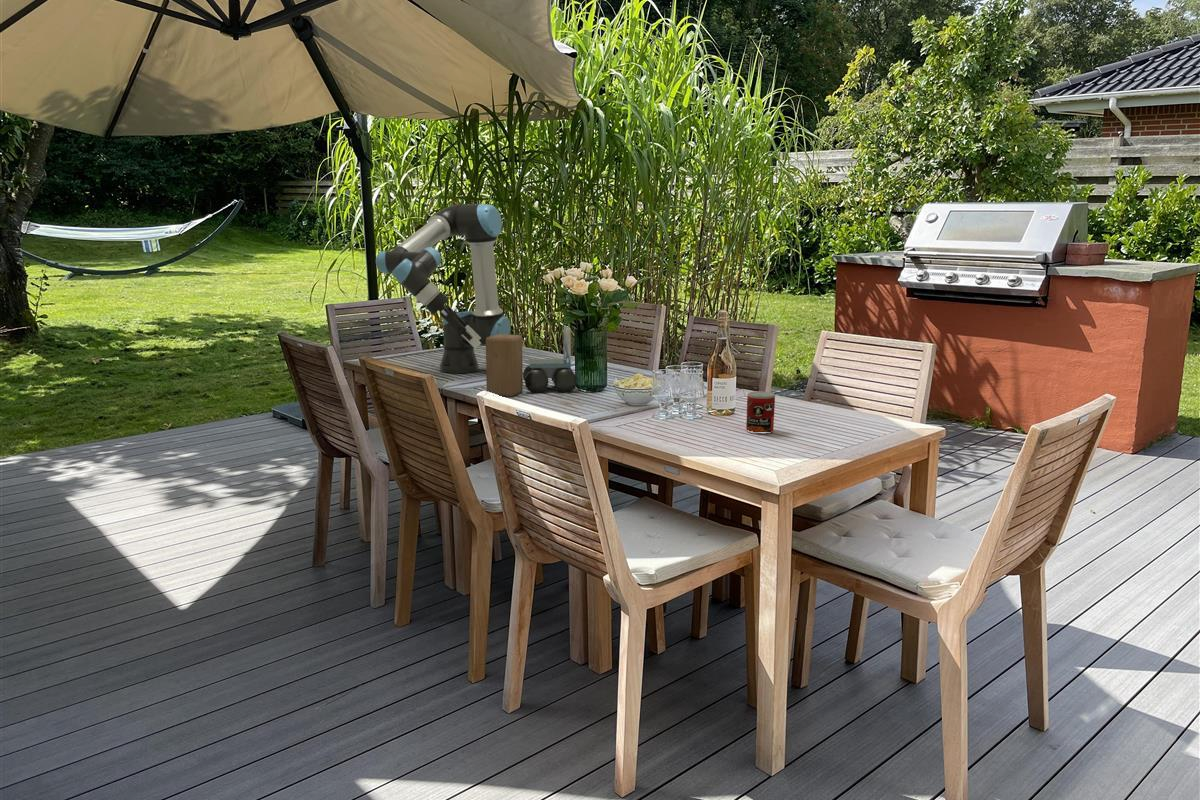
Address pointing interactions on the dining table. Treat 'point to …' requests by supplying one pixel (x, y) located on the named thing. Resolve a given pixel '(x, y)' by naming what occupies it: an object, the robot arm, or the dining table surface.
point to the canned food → (760, 411)
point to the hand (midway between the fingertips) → (478, 343)
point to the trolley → (552, 370)
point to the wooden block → (504, 364)
